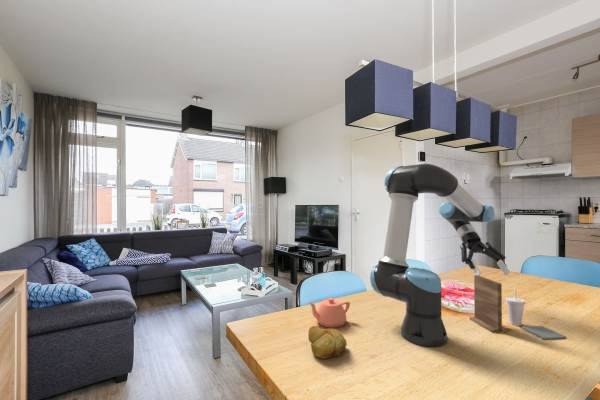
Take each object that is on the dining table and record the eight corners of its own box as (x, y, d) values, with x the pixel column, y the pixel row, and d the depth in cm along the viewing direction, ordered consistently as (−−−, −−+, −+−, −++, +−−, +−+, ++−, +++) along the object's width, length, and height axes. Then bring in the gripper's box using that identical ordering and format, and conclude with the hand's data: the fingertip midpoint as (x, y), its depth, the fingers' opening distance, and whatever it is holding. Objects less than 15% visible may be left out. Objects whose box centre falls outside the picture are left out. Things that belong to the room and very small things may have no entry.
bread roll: (340, 342, 98) (340, 319, 98) (355, 356, 89) (355, 331, 89) (305, 349, 94) (305, 324, 94) (317, 364, 85) (317, 337, 85)
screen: (492, 332, 105) (492, 283, 105) (469, 319, 117) (469, 275, 117) (507, 331, 106) (506, 283, 106) (483, 318, 118) (482, 275, 118)
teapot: (356, 326, 111) (356, 301, 111) (312, 331, 106) (312, 306, 106) (343, 314, 123) (343, 292, 123) (303, 319, 118) (303, 296, 118)
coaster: (543, 339, 100) (543, 338, 100) (520, 328, 109) (520, 326, 109) (566, 338, 101) (566, 336, 101) (542, 327, 110) (542, 325, 110)
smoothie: (506, 325, 111) (506, 289, 112) (504, 319, 117) (503, 285, 117) (527, 328, 108) (527, 291, 109) (523, 322, 114) (523, 287, 114)
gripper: (488, 240, 143) (514, 278, 128) (441, 241, 140) (462, 279, 125) (496, 230, 137) (524, 268, 122) (448, 231, 135) (471, 270, 120)
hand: (493, 274), depth 124 cm, fingers open, 13 cm apart
